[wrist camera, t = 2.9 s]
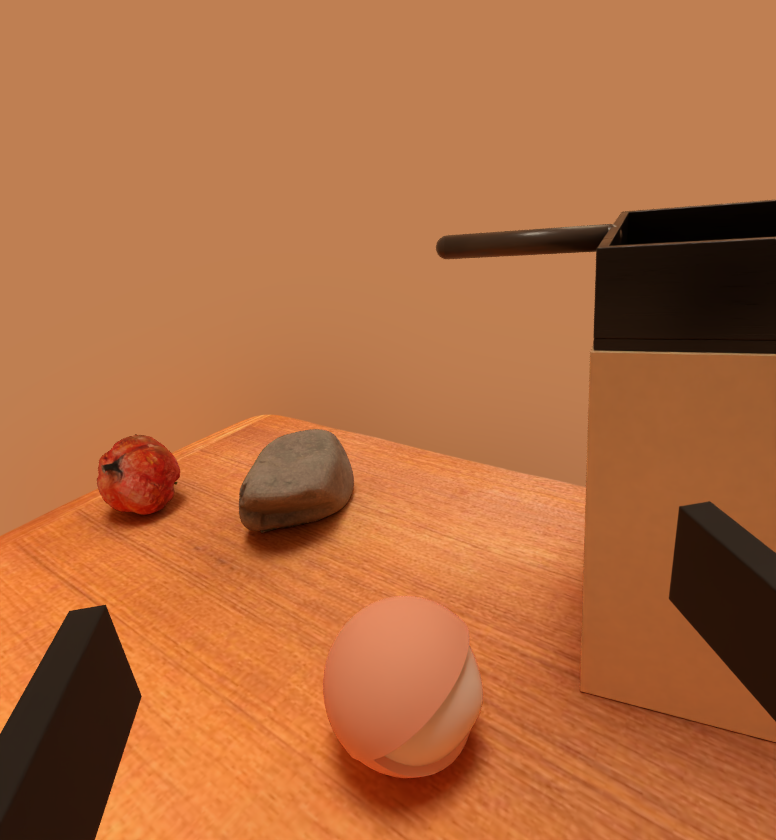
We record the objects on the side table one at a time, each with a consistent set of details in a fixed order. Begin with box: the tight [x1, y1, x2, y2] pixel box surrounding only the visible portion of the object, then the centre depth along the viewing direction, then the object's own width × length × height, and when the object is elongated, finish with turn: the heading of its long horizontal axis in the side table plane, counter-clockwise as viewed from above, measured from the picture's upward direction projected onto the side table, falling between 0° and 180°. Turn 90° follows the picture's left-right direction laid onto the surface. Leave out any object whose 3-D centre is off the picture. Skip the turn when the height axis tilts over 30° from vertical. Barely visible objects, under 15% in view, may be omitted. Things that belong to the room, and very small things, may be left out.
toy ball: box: [323, 596, 483, 778], centre depth 27 cm, size 8×8×8 cm
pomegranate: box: [97, 435, 180, 515], centre depth 53 cm, size 7×7×10 cm
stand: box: [580, 346, 776, 742], centre depth 29 cm, size 13×13×19 cm
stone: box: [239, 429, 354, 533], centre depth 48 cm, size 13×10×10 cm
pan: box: [436, 200, 776, 354], centre depth 26 cm, size 22×13×4 cm, turn 66°
